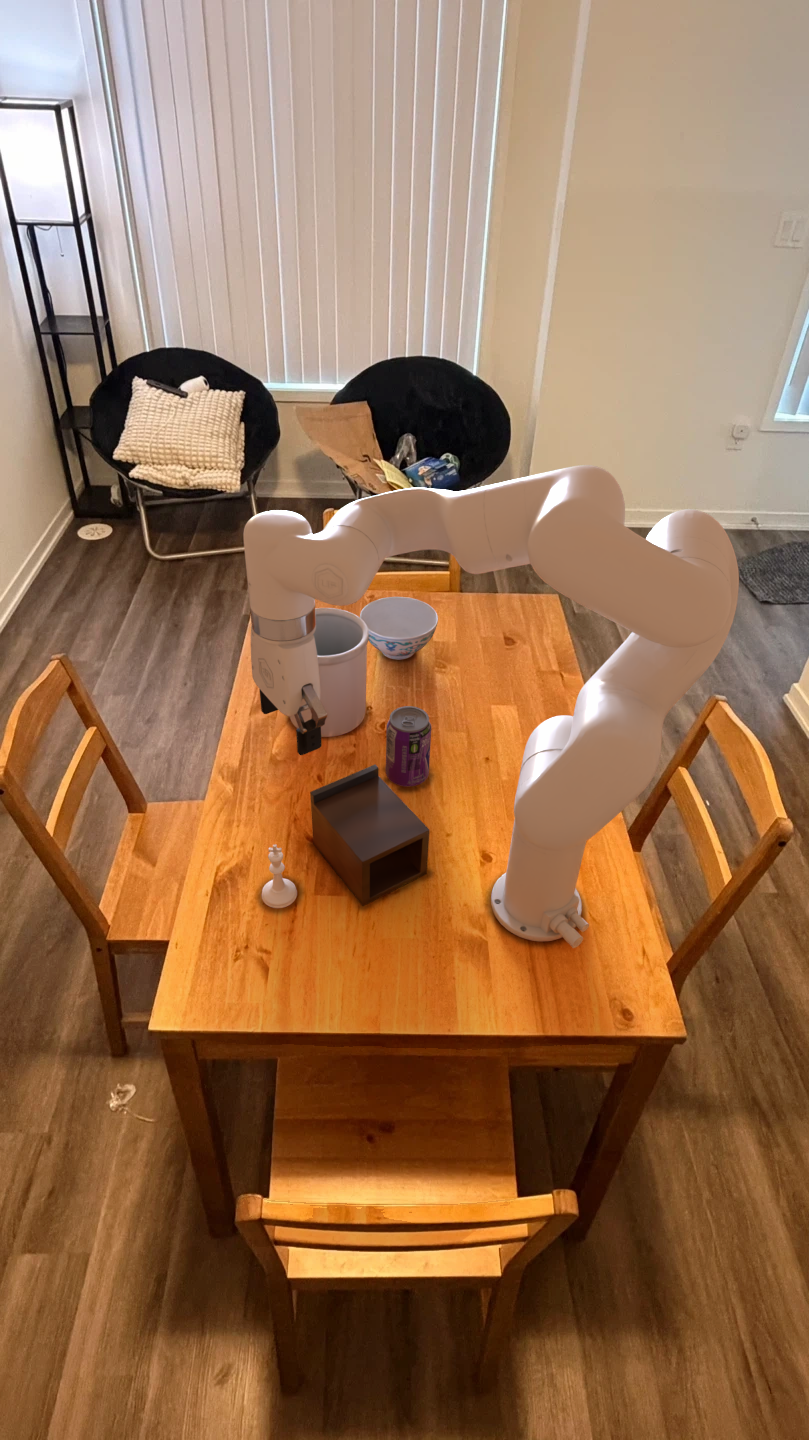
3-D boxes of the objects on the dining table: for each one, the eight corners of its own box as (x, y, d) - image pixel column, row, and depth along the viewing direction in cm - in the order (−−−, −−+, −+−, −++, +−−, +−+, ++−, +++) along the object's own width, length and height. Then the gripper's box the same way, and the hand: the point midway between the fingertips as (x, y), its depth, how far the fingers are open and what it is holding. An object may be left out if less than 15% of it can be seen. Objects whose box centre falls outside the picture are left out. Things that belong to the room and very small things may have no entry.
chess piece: (264, 880, 122) (259, 831, 116) (299, 881, 122) (295, 833, 116) (259, 907, 118) (253, 858, 112) (294, 909, 118) (290, 860, 112)
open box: (426, 873, 124) (430, 821, 117) (362, 906, 119) (362, 854, 112) (374, 815, 133) (375, 763, 126) (312, 844, 128) (309, 791, 121)
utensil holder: (348, 749, 145) (347, 664, 134) (270, 727, 149) (262, 644, 138) (380, 700, 156) (382, 618, 145) (306, 681, 159) (302, 600, 148)
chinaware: (357, 630, 173) (357, 597, 169) (430, 628, 175) (432, 595, 170) (362, 673, 162) (362, 639, 157) (440, 670, 163) (443, 636, 158)
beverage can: (424, 793, 137) (427, 735, 129) (381, 786, 138) (382, 728, 130) (432, 764, 142) (435, 707, 135) (390, 757, 143) (391, 701, 136)
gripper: (222, 593, 104) (235, 704, 114) (290, 663, 93) (297, 778, 104) (277, 577, 107) (284, 686, 118) (349, 642, 96) (350, 756, 107)
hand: (290, 729), depth 111 cm, fingers open, 9 cm apart
